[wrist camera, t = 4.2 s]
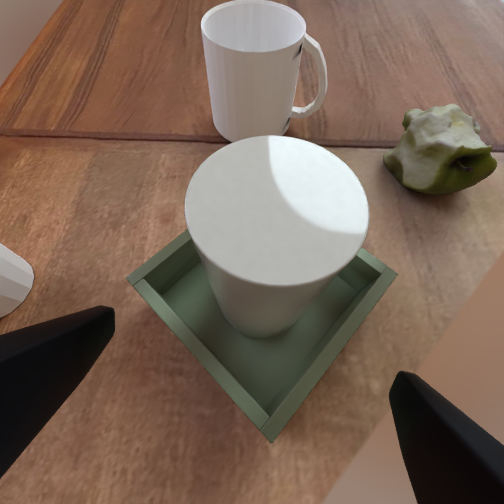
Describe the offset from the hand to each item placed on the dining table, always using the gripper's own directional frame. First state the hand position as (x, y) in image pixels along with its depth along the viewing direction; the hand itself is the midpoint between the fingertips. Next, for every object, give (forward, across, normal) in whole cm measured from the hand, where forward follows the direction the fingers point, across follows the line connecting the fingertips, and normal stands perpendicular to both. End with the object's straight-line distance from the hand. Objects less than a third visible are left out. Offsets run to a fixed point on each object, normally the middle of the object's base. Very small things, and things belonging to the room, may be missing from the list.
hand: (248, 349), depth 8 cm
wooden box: (+12, 0, +5) cm, 13 cm away
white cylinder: (+12, 0, +4) cm, 12 cm away
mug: (+27, +4, -10) cm, 29 cm away
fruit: (+24, -14, -7) cm, 29 cm away
